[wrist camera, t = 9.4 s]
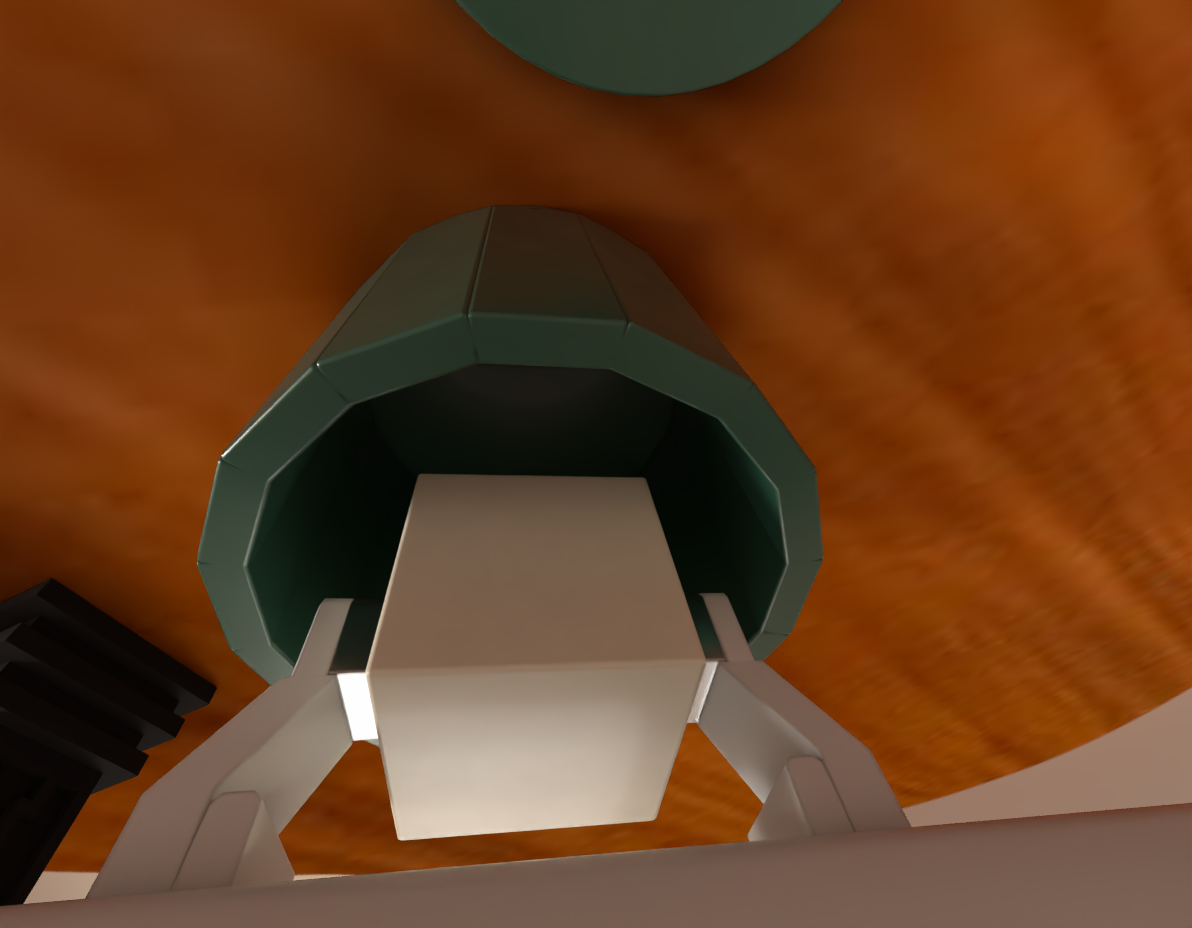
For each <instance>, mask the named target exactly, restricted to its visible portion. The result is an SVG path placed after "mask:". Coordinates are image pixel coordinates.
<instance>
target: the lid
mask: <svg viewBox="0 0 1192 928" xmlns="http://www.w3.org/2000/svg"><path fill="white" fill-rule="evenodd" d="M455 1H456V3H457V4H458V5H459V6H460V7H461V8H462V9H463V10H464V11H465V12H466V13H467V14H468V15H470V16H471V17H472V18H473V19H474V20H475V21H476V22H477V23H478V24H479V25H480V26H481V27H482V28H483V29H484V30H485V31H486V32H487V33H488V34H489V35H491V36H492V37H493V38H495V39H496V40H497V41H499V42H500V43H501V44H503V45H504V46H505V47H507V48H508V49H510V50H511V51H512V52H514V53H515V54H516V55H518V56H519V57H520V58H522V59H523V60H525V61H527V62H529V63H531V64H533V65H534V66H536V67H538V68H540V69H542V70H543V71H545V72H547V73H549V74H551V75H553V76H554V77H557V78H560V79H562V80H565V81H568V82H571V83H573V84H576V85H579V86H581V87H584V88H587V89H591V90H596V91H601V92H606V93H611V94H616V95H623V96H647V97H659V96H667V95H676V94H684V93H691V92H695V91H698V90H702V89H706V88H709V87H713V86H716V85H720V84H723V83H726V82H728V81H730V80H732V79H735V78H737V77H739V76H741V75H744V74H746V73H748V72H750V71H753V70H755V69H757V68H758V67H760V66H762V65H763V64H765V63H767V62H768V61H770V60H771V59H773V58H775V57H776V56H778V55H779V54H781V53H783V52H784V51H786V50H788V49H789V48H790V47H791V46H793V45H794V44H795V43H796V42H798V41H799V40H800V39H801V38H803V37H804V36H805V35H806V34H808V33H809V32H810V31H811V30H813V29H814V28H815V27H816V26H818V25H819V24H820V23H821V22H822V21H823V20H824V19H825V18H826V17H827V16H828V15H829V14H830V13H831V12H832V11H833V10H834V9H835V8H836V7H837V6H838V5H839V4H840V3H841V2H842V1H843V0H455Z"/></svg>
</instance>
